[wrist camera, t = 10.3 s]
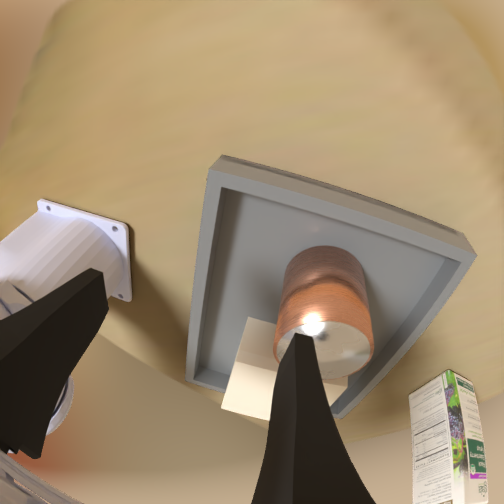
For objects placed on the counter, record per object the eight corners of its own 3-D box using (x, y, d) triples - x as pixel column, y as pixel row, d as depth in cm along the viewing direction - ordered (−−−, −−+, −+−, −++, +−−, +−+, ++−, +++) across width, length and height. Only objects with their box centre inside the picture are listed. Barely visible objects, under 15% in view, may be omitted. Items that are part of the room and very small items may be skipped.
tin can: (276, 298, 22) (263, 370, 17) (296, 236, 19) (287, 308, 14) (346, 314, 21) (349, 387, 16) (376, 257, 18) (392, 331, 13)
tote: (192, 361, 30) (184, 380, 28) (222, 154, 17) (208, 168, 15) (342, 398, 29) (341, 418, 27) (463, 233, 17) (477, 255, 15)
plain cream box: (231, 370, 28) (220, 408, 25) (248, 316, 23) (235, 360, 20) (312, 390, 28) (308, 428, 24) (347, 342, 23) (347, 387, 20)
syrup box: (473, 381, 25) (492, 502, 13) (434, 406, 28) (441, 519, 17) (448, 367, 24) (466, 507, 12) (405, 395, 28) (409, 523, 16)
